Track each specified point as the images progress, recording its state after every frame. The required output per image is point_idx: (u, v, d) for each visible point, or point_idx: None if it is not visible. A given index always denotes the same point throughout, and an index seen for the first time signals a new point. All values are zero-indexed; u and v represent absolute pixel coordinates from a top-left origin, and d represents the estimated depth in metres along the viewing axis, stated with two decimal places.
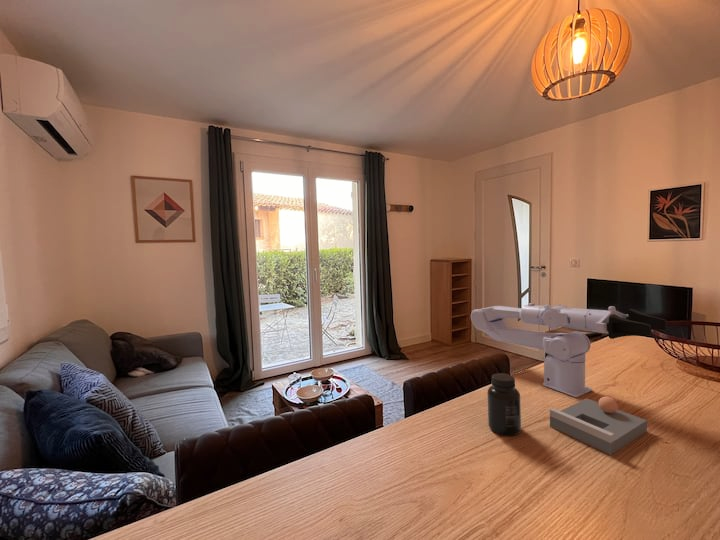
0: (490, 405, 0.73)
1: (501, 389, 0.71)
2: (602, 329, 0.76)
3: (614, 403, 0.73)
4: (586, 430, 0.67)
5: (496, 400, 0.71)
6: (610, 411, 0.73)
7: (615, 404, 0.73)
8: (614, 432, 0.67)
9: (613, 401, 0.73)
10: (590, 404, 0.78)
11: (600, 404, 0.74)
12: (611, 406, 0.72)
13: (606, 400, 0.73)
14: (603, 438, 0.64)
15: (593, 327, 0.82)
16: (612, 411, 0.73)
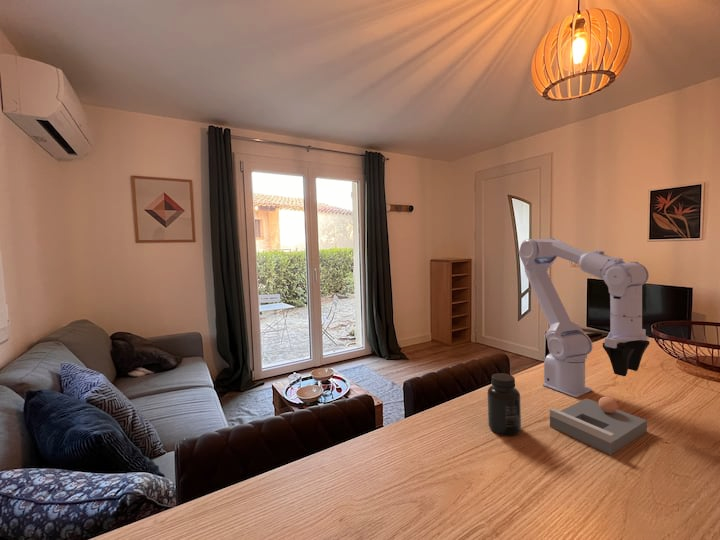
0: (491, 405, 0.73)
1: (501, 389, 0.71)
2: (607, 344, 0.73)
3: (614, 403, 0.73)
4: (586, 430, 0.67)
5: (496, 400, 0.71)
6: (610, 411, 0.73)
7: (615, 404, 0.73)
8: (614, 432, 0.67)
9: (613, 401, 0.73)
10: (590, 404, 0.78)
11: (600, 404, 0.74)
12: (611, 406, 0.72)
13: (606, 400, 0.73)
14: (603, 438, 0.64)
15: (613, 322, 0.76)
16: (612, 411, 0.73)
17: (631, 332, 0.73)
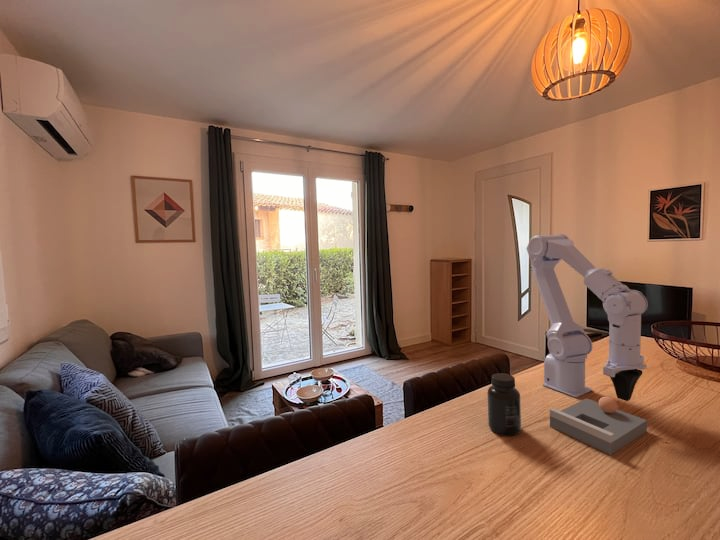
0: (490, 405, 0.73)
1: (501, 389, 0.71)
2: (606, 373, 0.74)
3: (614, 403, 0.73)
4: (586, 430, 0.67)
5: (496, 400, 0.71)
6: (610, 411, 0.73)
7: (615, 404, 0.73)
8: (614, 432, 0.67)
9: (613, 401, 0.73)
10: (590, 404, 0.78)
11: (600, 404, 0.74)
12: (611, 406, 0.72)
13: (606, 400, 0.73)
14: (603, 438, 0.64)
15: (612, 350, 0.76)
16: (612, 411, 0.73)
17: (629, 361, 0.74)
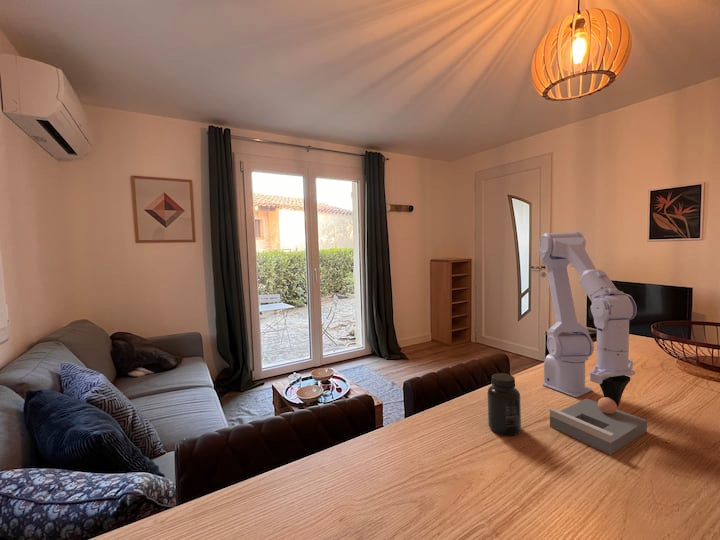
0: (491, 405, 0.73)
1: (501, 389, 0.71)
2: (593, 380, 0.71)
3: (613, 404, 0.72)
4: (586, 430, 0.67)
5: (496, 400, 0.71)
6: (610, 412, 0.73)
7: (614, 405, 0.72)
8: (614, 432, 0.67)
9: (612, 402, 0.73)
10: (590, 404, 0.78)
11: (599, 406, 0.74)
12: (610, 408, 0.72)
13: (605, 402, 0.73)
14: (603, 438, 0.64)
15: (600, 355, 0.74)
16: (612, 412, 0.73)
17: (617, 367, 0.71)
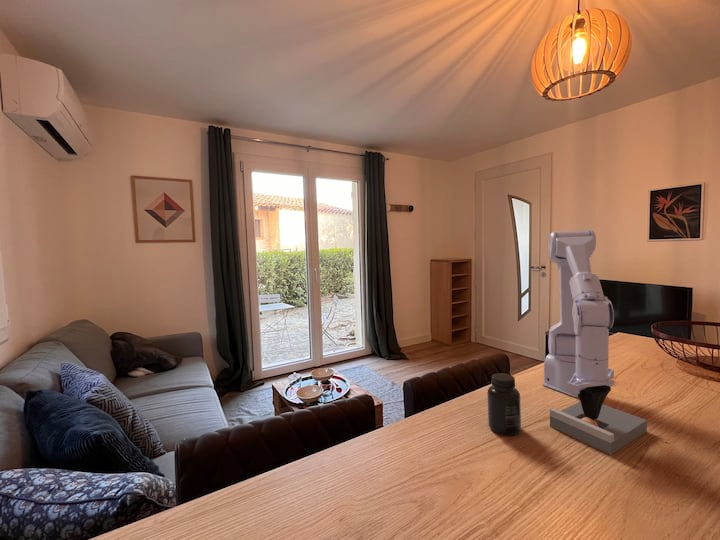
0: (490, 405, 0.73)
1: (501, 389, 0.71)
2: (570, 390, 0.67)
3: None
4: (586, 430, 0.67)
5: (496, 400, 0.71)
6: None
7: None
8: (614, 432, 0.67)
9: None
10: None
11: (584, 417, 0.71)
12: (595, 422, 0.70)
13: None
14: (603, 438, 0.64)
15: (578, 363, 0.70)
16: None
17: (596, 376, 0.67)
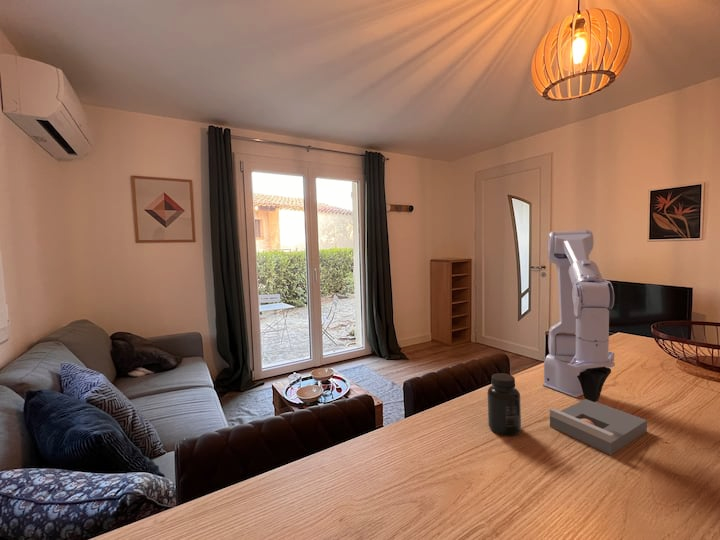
0: (490, 405, 0.73)
1: (501, 389, 0.71)
2: (570, 371, 0.67)
3: (594, 425, 0.69)
4: (586, 430, 0.67)
5: (496, 400, 0.71)
6: None
7: None
8: (614, 432, 0.67)
9: None
10: (590, 404, 0.78)
11: None
12: None
13: None
14: (603, 438, 0.64)
15: (578, 346, 0.70)
16: None
17: (596, 358, 0.67)
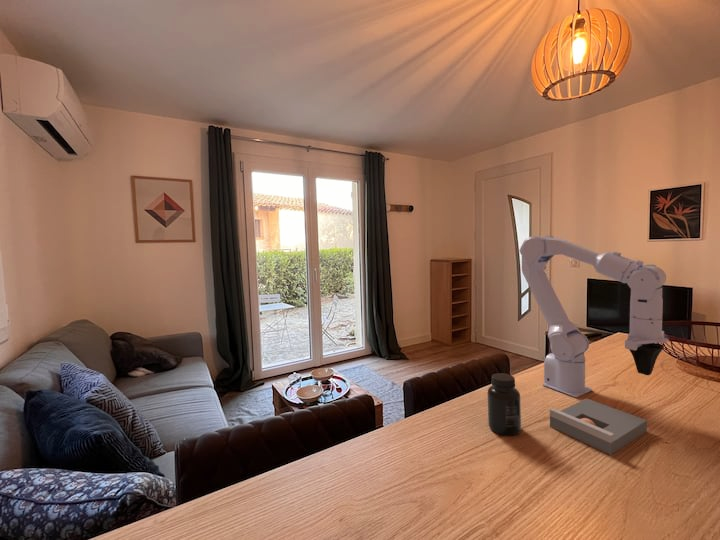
0: (491, 405, 0.73)
1: (501, 389, 0.71)
2: (628, 347, 0.74)
3: (595, 425, 0.69)
4: (586, 430, 0.67)
5: (496, 400, 0.71)
6: None
7: None
8: (614, 432, 0.67)
9: None
10: (590, 404, 0.78)
11: (580, 419, 0.71)
12: (592, 423, 0.69)
13: (589, 419, 0.70)
14: (603, 438, 0.64)
15: (633, 324, 0.77)
16: None
17: (651, 334, 0.74)
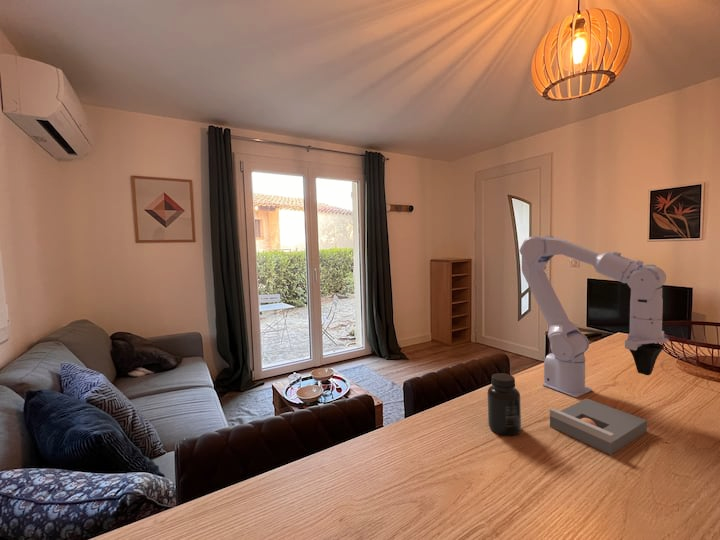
0: (490, 405, 0.73)
1: (501, 389, 0.71)
2: (628, 347, 0.74)
3: None
4: (586, 430, 0.67)
5: (496, 400, 0.71)
6: None
7: None
8: (614, 432, 0.67)
9: (595, 424, 0.70)
10: (590, 404, 0.78)
11: None
12: (593, 423, 0.69)
13: (590, 419, 0.71)
14: (603, 438, 0.64)
15: (633, 324, 0.77)
16: None
17: (651, 334, 0.74)
